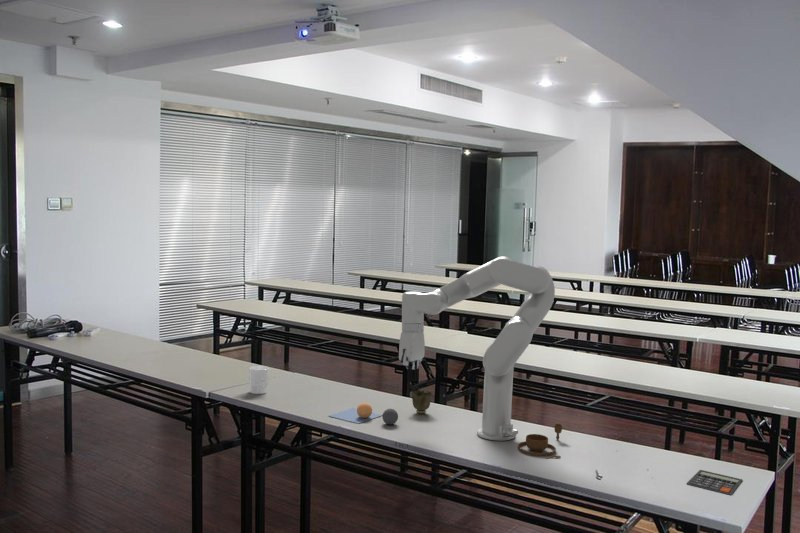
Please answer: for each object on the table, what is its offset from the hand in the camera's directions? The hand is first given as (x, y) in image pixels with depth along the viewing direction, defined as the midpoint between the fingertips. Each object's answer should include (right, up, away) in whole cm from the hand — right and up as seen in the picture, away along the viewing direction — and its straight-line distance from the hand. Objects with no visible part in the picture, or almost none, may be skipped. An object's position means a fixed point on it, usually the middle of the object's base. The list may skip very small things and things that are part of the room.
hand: (412, 380), depth 239 cm
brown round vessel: (+3, -16, +18) cm, 24 cm away
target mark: (-20, -15, +12) cm, 28 cm away
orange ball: (-17, -12, +9) cm, 23 cm away
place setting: (+43, -20, -18) cm, 50 cm away
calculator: (+85, -23, -42) cm, 98 cm away
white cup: (-62, -12, +41) cm, 75 cm away
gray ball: (-8, -13, +3) cm, 16 cm away
